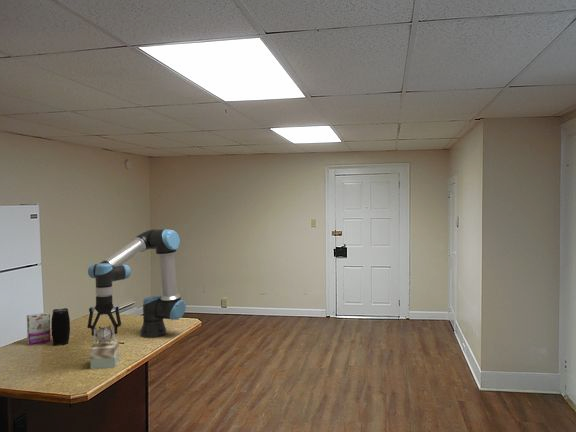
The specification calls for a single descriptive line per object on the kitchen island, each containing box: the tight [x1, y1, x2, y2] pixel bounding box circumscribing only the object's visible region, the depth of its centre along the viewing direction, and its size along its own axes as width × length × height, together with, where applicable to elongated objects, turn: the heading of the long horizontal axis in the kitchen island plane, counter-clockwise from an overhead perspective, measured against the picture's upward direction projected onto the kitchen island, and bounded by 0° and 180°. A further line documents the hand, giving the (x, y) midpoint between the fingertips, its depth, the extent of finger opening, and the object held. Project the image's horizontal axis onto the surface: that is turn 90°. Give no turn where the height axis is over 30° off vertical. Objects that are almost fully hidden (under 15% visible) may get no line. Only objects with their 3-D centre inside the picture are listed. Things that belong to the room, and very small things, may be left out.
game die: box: [95, 325, 113, 344], centre depth 221 cm, size 9×8×10 cm
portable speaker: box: [50, 307, 71, 346], centre depth 255 cm, size 9×9×20 cm
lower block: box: [90, 352, 119, 370], centre depth 221 cm, size 11×11×5 cm
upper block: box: [89, 340, 120, 360], centre depth 221 cm, size 11×11×5 cm
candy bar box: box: [26, 312, 51, 346], centre depth 257 cm, size 11×5×16 cm, turn 129°
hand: (104, 341), depth 220 cm, fingers closed on game die, 8 cm apart
